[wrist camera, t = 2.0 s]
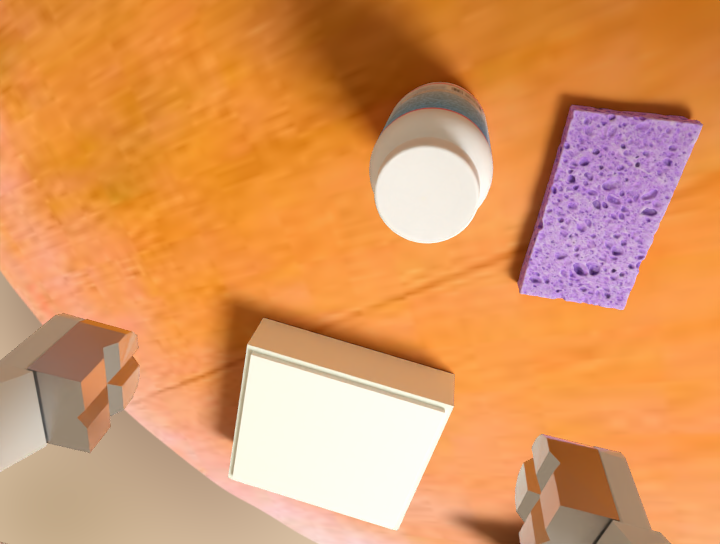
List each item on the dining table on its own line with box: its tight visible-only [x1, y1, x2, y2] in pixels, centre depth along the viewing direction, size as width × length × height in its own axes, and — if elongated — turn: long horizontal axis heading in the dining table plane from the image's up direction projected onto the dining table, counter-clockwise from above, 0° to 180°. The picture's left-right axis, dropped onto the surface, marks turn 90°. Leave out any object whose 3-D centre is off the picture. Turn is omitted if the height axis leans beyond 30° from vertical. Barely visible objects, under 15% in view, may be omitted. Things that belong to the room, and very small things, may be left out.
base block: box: [228, 318, 455, 530], centre depth 44 cm, size 16×16×4 cm
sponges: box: [518, 105, 703, 310], centre depth 32 cm, size 7×13×2 cm, turn 174°
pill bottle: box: [369, 82, 493, 243], centre depth 27 cm, size 6×6×11 cm
